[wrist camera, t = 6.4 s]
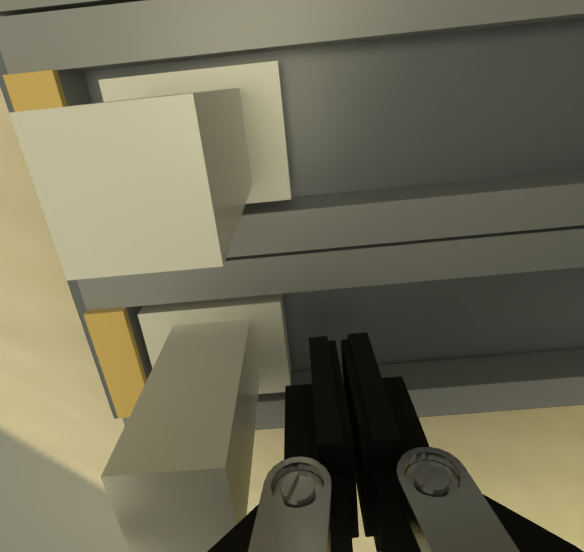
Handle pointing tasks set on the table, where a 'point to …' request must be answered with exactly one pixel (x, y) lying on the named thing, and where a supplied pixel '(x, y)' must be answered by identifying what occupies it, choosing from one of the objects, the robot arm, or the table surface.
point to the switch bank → (365, 183)
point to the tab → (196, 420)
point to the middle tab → (157, 168)
